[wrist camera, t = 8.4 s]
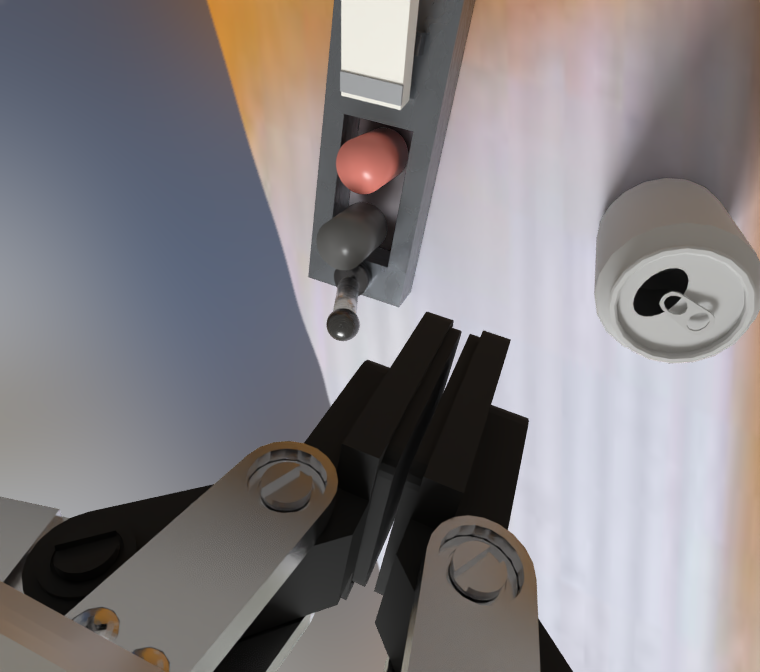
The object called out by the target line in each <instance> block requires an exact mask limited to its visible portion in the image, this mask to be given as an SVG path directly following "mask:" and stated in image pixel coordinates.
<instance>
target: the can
mask: <svg viewBox="0 0 760 672" xmlns="http://www.w3.org/2000/svg"><path fill="white" fill-rule="evenodd" d="M594 295H595V303H596V311H597V315H598V317H599V319H600V321H601V322H602V324H603V326H604V328H605V330H606V332H607V333H609V334H610V335H611V336H612V337H613V338H614V339H615V340H616V341H617V342H619V343H620V344H621V345H622V346H624V347H626V348H628V349H630V350H631V351H632V352H634V353H636V354H639V355H641V356H643V357H645V358H647V359H649V360H654V361H659V362H665V363H670V364H671V363H689V362H695V361H699V360H702V359H705V358H709V357H712V356H715V355H717V354H718V353H720V352H722V351H723V350H725V349H727V348H728V347H730V346H732V345H733V344H735V342H736V341H737V340H738V339H739V338H740V337H741V336H742V335H743V334H744V333H745V332H746V331H747V330H748V328H749V326H750V325H751V323H752V322H753V321H754V320H755V319H756V317H757V315H758V312H759V310H760V261H759V259H758V257H757V254H756V252H755V251H754V250H753V248H752V247H751V245H750V244H749V242H748V241H747V240H746V238H745V237H744V235H743V234H742V232H741V231H740V229H739V228H738V227H737V225H736V224H735V222H734V221H733V219H732V218H731V216H730V215H729V214H728V212H727V211H726V209H725V208H724V206H723V205H722V204H721V202H720V201H719V200H718V199H717V198H716V197H715V196H714V195H713V194H712V193H711V192H710V191H709V190H708V189H707V188H706V187H703V186H701V185H699V184H696V183H694V182H692V181H689V180H686V179H675V178H662V179H657V180H652V181H647V182H643V183H641V184H639V185H637V186H635V187H633V188H631V189H629V190H627V191H625V192H624V193H623V194H622V195H621V196H620V197H619V198H617V199H616V200H615V201H614V202H613V203H612V204H611V205H610V206H609V208H608V209H607V211H606V213H605V214H604V216H603V218H602V219H601V221H600V225H599V230H598V234H597V240H596V265H595V291H594Z"/></svg>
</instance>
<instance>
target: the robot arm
mask: <svg viewBox="0 0 760 672" xmlns="http://www.w3.org/2000/svg"><path fill="white" fill-rule="evenodd" d="M452 327H453V320H451V319H448V318H445V317H442V316H439V315H436V314H433V313H430V312H426V313H425V314H424V316H423V318H422V319H421V321H420V322H419V324H418V325H417V327H416V328H415V330H414V332H413V333H412V335H411V336H410V338H409V339H408V341H407V343H406V344H405V346H404V347H403V349H402V350H401V352H400V353H399V355H398V357H397V358H396V360H395V361H394V363H393V364H392V366H391V368H389V367H386V366H383V365H381V364H378V363H375V362H373V361H370V360H366V361H365V362H364V363H363V364H362V365H361V366H360V368H359V369H358V370H357V372H356V373H355V374H354V376H353V377H352V378H351V380H350V381H349V383H348V384H347V385H346V387H345V388H344V389H343V391H342V392H341V393H340V395H339V396H338V398H337V399H336V400H335V402H334V403H333V404H332V406H331V407H330V409H329V410H328V411H327V413H326V414H325V415H324V417H323V418H322V419H321V421H320V422H319V424H318V425H317V427H316V428H315V429H314V430H313V432H312V433H311V434H310V436H309V437H308V439H307V440H306V441H305V443H299V442H291V441H284V442H273V443H270V444H268V445H264V446H261V447H259V448H257V449H256V450H254V451H253V452H251V453H250V454H248V455H247V456H246V457H245V458H244V459H243V460H241V461H240V462H239V463H238V464H237V465H236V466H235V467H233V468H232V469H231V470H230V471H229V472H228V473H227V474H225V475H224V476H223V477H222V478H221V479H220V480H219V481H217V482H216V483H215V484H213V485H209V486H205V487H200V488H195V489H190V490H187V491H181V492H177V493H173V494H168V495H164V496H159V497H154V498H149V499H145V500H140V501H136V502H132V503H127V504H122V505H118V506H113V507H108V508H104V509H99V510H95V511H90V512H87V513H84V514H81V515H78V516H75V517H72V518H66V517H62V515H61V512H60V509H56V508H51V507H46V506H42V505H37V504H32V503H27V502H23V501H18V500H13V499H9V498H4V497H0V672H277V670H278V669H279V667H280V666H281V664H282V663H283V662H284V660H285V659H286V657H287V656H288V654H289V653H290V652H291V650H292V649H293V647H294V646H295V644H296V643H297V641H298V640H299V639H300V637H301V636H302V634H303V633H304V631H305V630H306V628H307V627H308V626H309V624H310V622H311V620H312V618H313V616H314V614H315V612H318V611H321V610H323V609H326V608H329V607H332V606H335V605H337V604H338V602H339V600H340V598H343V599H345V600H346V599H347V597H348V595H349V593H350V591H351V588H352V586H353V584H354V582H356V583H358V584H360V585H362V586H364V587H365V586H366V584H367V582H368V579H369V577H370V575H371V573H372V570H373V568H374V565H375V563H376V561H377V559H378V557H379V554H380V552H381V550H382V547H383V545H384V543H385V540H386V538H387V536H388V533H389V531H390V529H391V526H392V524H393V522H394V524H393V527H392V531H391V534H390V538H389V541H388V545H387V548H386V552H385V555H384V558H383V562H382V565H381V569H380V572H379V576H378V580H377V583H376V587H375V590H374V591H375V592H377V593H379V594H381V595H383V598H382V602H381V605H380V608H379V611H378V615H377V618H376V621H375V624H376V627H377V629H378V632H379V634H380V636H381V639H382V641H383V644H384V646H385V649H386V651H387V654H388V657H387V660H386V662H385V668H384V672H573V671H572V669H571V668H570V666H569V665H568V663H567V662H566V660H565V659H564V657H563V656H562V654H561V653H560V651H559V649H558V648H557V646H556V645H555V643H554V642H553V640H552V639H551V637H550V636H549V634H548V632H547V631H546V629H545V628H544V626H543V625H542V623H541V622H540V620H539V619H538V606H537V583H536V575H535V570H534V566H533V562H532V560H531V558H530V556H529V554H528V553H527V551H526V549H525V547H524V546H523V545H522V544H521V543H520V542H519V540H518V539H517V538H516V537H515V536H514V535H513V534H512V533H511V532H509V531H508V526H509V521H510V516H511V511H512V505H513V500H514V495H515V490H516V485H517V480H518V475H519V470H520V464H521V459H522V454H523V449H524V444H525V439H526V434H527V429H528V422H529V420H528V418H526V417H523V416H520V415H517V414H515V413H512V412H509V411H506V410H504V409H501V408H498V407H496V406H493V405H491V403H492V400H493V396H494V393H495V390H496V387H497V383H498V380H499V377H500V374H501V370H502V367H503V364H504V360H505V357H506V354H507V351H508V347H509V344H510V341H511V340H510V339H507V338H504V337H501V336H498V335H495V334H492V333H489V332H486V331H483V332H482V335H481V337H478V336H475V335H472V334H470V335H469V337H468V339H467V341H466V344H465V346H464V348H463V350H462V353H461V355H460V357H459V359H458V362H457V364H456V366H455V368H454V370H453V373H452V375H451V377H450V379H449V382H448V384H447V386H446V388H445V385H446V382H447V379H448V376H449V372H450V369H451V366H452V362H453V359H454V356H455V353H456V349H457V346H458V343H459V339H460V336H461V331H460V330H457V329H454V328H452ZM444 389H445V391H444ZM443 392H444V393H443Z"/></svg>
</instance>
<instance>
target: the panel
mask: <svg viewBox="0 0 760 672" xmlns="http://www.w3.org/2000/svg"><path fill="white" fill-rule="evenodd" d="M474 4H475V0H419V6H418V17H417V27H416V37H415V47H414V57H413V67H412V77H411V87H410V97H409V101H408V102H407V104H406V105H405V106H404V107H403V108H402V109H401V110H398V109H394V108H390V107H386V106H382V105H378V104H374V103H370V102H365V101H361V100H357V99H353V98H349V97H345V96H341V92H340V71H341V0H334V9H333V19H332V30H331V41H330V51H329V62H328V73H327V83H326V94H325V105H324V116H323V126H322V137H321V148H320V158H319V169H318V180H317V190H316V201H315V212H314V222H313V233H312V244H311V254H310V265H309V276H308V277H310V278H313V279H316V280H319V281H322V282H325V283H328V284H331V285H334V286H336V287H338V283H339V281H340V280H341V279H343V278H345V277H352V278H354V279H355V280H356V281H357V282H358V285H359V292H358V296H360V295H364V296H367V297H370V298H373V299H376V300H379V301H382V302H385V303H388V304H391V305H394V306H397V307H400V305H401V304H402V303H403V301H404V300H405V299H406V297H407V296H408V295H409V293H410V292H411V288H412V283H413V279H414V274H415V270H416V265H417V261H418V256H419V252H420V247H421V243H422V238H423V234H424V229H425V225H426V220H427V216H428V211H429V207H430V202H431V198H432V193H433V189H434V184H435V180H436V175H437V171H438V166H439V162H440V157H441V153H442V148H443V144H444V139H445V134H446V130H447V125H448V121H449V116H450V112H451V107H452V103H453V98H454V94H455V89H456V85H457V80H458V76H459V71H460V67H461V62H462V58H463V53H464V49H465V44H466V40H467V35H468V31H469V26H470V22H471V17H472V13H473V8H474ZM360 118H362V119H366V120H370V121H374V122H378V123H382V124H386V125H390V126H394V127H398V128H402V129H406V130H410V131H413V136H412V142H411V147H410V152H409V158H408V163H407V168H406V173H405V179H404V184H403V189H402V195H401V200H400V205H399V211H398V216H397V221H396V227H395V232H394V237H393V243H392V248H391V251H389V250H385V249H382V248H379V247H377V248H376V249H375V250H374V251H373V252H372V253H371V254H370V255H369V256H367V257H366V258H365V259H364V260H363V261H362V262H361V263H360V264H359V265H358V266H357V267H355V268H353V269H351V270H338V269H335V268H333V267H331V266H330V265H328V264H327V263H326V262H325V261H324V260H323V258H322V257H321V255H320V254H319V251H318V248H317V243H316V238H317V234H318V231H319V229H320V228H321V226H322V225H323V224H325V223H326V222H328V221H329V220H331V219H332V218H334V217H335V216H336V215H338V214H339V213H341V212H342V211H344V210H345V209H347V208H348V205H349V197H350V189H348V188H347V187H346V186H345V185H344V184H343V183H342V181H341V180H340V178H339V175H338V173H337V168H336V158H337V154H338V152H339V150H340V148H341V147H342V145H343V144H344V143H345V142H347V141H348V140H351V139H353V138H355V137H357V136H358V128H359V121H360Z"/></svg>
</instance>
